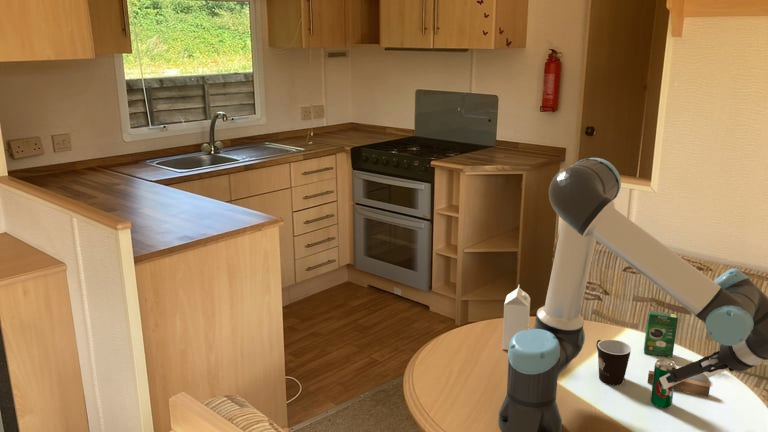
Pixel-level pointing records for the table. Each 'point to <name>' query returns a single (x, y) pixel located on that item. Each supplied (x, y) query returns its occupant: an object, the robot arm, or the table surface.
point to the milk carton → (515, 315)
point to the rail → (687, 386)
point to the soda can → (659, 394)
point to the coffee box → (660, 333)
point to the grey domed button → (700, 378)
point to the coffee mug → (612, 361)
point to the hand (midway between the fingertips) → (684, 377)
